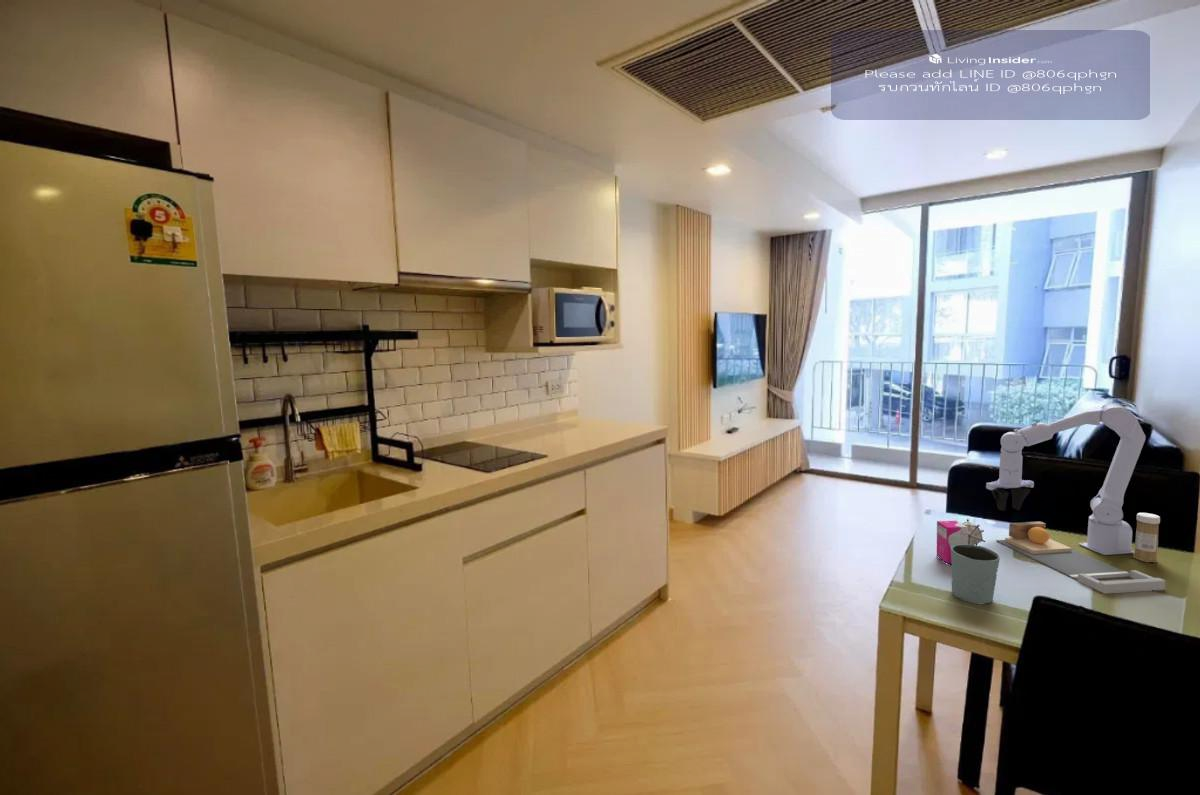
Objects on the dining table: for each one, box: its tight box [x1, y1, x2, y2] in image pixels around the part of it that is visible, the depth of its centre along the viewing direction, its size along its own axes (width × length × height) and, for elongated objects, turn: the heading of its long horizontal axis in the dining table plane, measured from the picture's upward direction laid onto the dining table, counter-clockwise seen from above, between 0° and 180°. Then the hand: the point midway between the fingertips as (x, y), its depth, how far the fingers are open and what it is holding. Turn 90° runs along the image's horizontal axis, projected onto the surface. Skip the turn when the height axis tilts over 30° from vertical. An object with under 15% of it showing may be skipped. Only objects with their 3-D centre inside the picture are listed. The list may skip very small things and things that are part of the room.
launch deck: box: [996, 536, 1166, 595], centre depth 147 cm, size 16×34×2 cm, turn 2°
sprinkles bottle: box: [1133, 512, 1161, 563], centre depth 146 cm, size 5×5×14 cm
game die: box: [961, 518, 986, 546], centre depth 161 cm, size 9×8×10 cm
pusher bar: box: [1008, 521, 1046, 538], centre depth 162 cm, size 10×2×4 cm, turn 92°
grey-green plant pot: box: [950, 544, 1001, 604], centre depth 132 cm, size 10×10×12 cm
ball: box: [1028, 527, 1050, 544], centre depth 158 cm, size 5×5×5 cm
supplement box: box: [936, 520, 968, 565], centre depth 152 cm, size 6×6×12 cm
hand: (1008, 509), depth 168 cm, fingers open, 4 cm apart
